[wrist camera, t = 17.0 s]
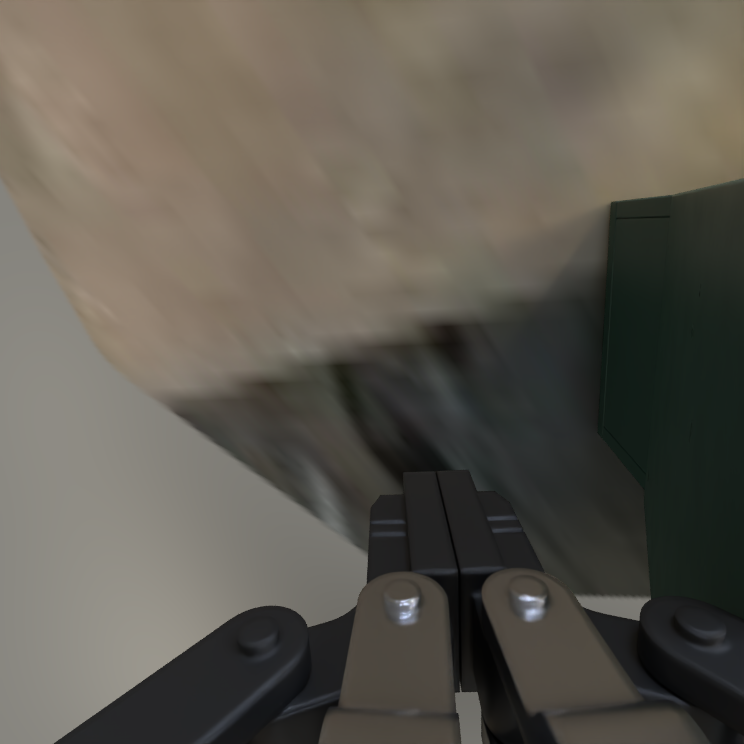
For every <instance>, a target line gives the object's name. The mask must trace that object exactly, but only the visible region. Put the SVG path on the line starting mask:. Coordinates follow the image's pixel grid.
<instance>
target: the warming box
mask: <svg viewBox="0 0 744 744" xmlns="http://www.w3.org/2000/svg"><path fill="white" fill-rule="evenodd" d="M672 196H673V195H667V196H658V197H650V198H641V199H632V200H623V201H615V202H611V212H610V229H609V246H608V263H607V280H606V298H605V315H604V332H603V349H602V366H601V383H600V400H599V417H598V434H599V435H600V436H601V438H603V440H604V441H605V442H606V444H607V445H608V446H609V447H610V448H611V450H612V451H613V452H614V453H615V454H616V456H617V457H618V458H619V459H620V461H621V462H622V463H623V464H624V465H625V467H626V468H627V469H628V470H629V471H630V473H631V474H632V475H633V476H634V478H635V479H636V480H637V481H638V482H639V484H640V485H641V486H642V487H643V488H644V490H645V482H646V471H647V460H648V449H649V438H650V427H651V417H652V406H653V395H654V384H655V373H656V362H657V352H658V341H659V330H660V319H661V308H662V297H663V287H664V276H665V265H666V254H667V243H668V232H669V222H670V211H671V200H672Z"/></svg>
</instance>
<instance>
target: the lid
mask: <svg viewBox="0 0 744 744" xmlns="http://www.w3.org/2000/svg"><path fill="white" fill-rule="evenodd" d="M644 509H645V523H646V536H647V550H648V564H649V577H650V591H651V600H652V599H654V598H657V597H662V596H682V597H688V598H693V599H697V600H700V601H703V602H706V603H709V604H712V605H714V606H716V607H719V608H721V609H723V610H725V611H727V612H729V613H731V614H733V615H736V616H738V617H740V618H742V619H743V620H744V178H743V179H739V180H734V181H730V182H726V183H721V184H717V185H713V186H709V187H704V188H700V189H696V190H691V191H687V192H683V193H678V194H675V195H673V196H672V200H671V211H670V222H669V232H668V243H667V254H666V265H665V276H664V287H663V297H662V308H661V319H660V330H659V341H658V352H657V362H656V373H655V384H654V395H653V406H652V417H651V427H650V438H649V449H648V460H647V471H646V482H645V492H644Z"/></svg>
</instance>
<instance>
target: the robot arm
mask: <svg viewBox="0 0 744 744" xmlns="http://www.w3.org/2000/svg"><path fill="white" fill-rule="evenodd" d="M403 489H404V494H401V495H380V497H379V498H378V499H377V500H376V502H375V503H374V504H373V505H372V507H371V510H370V530H369V549H368V570H367V584H366V586H365V587H364V588H363V589H362V591H361V592H360V594H359V597H358V602H357V605H356V607H354V608H353V609H352V610H351V611H349V612H348V613H346V614H345V615H343V616H341V617H339V618H337V619H335V620H332V621H329V622H326V623H323V624H319V625H316V626H312V627H307V624H306V622H305V620H304V619H303V618H302V617H301V615H299V614H298V613H297V612H295V611H293V610H291V609H289V608H285V607H281V606H263V607H258V608H253V609H250V610H248V611H245V612H243V613H241V614H238V615H237V616H235V617H233V618H232V619H230V620H229V621H227V622H226V623H224V624H223V625H222V626H220V627H219V628H217V629H216V630H214V631H213V632H212V633H210V634H209V635H207V636H206V637H205V638H203V639H202V640H200V641H199V642H198V643H196V644H195V645H193V646H192V647H190V648H189V649H187V650H186V651H185V652H183V653H182V654H180V655H179V656H178V657H176V658H175V659H173V660H172V661H170V662H169V663H168V664H166V665H165V666H163V667H162V668H160V669H159V670H158V671H156V672H155V673H153V674H152V675H150V676H149V677H148V678H146V679H145V680H143V681H142V682H141V683H139V684H138V685H136V686H135V687H133V688H132V689H131V690H129V691H128V692H126V693H125V694H124V695H122V696H121V697H119V698H118V699H116V700H115V701H114V702H112V703H111V704H109V705H108V706H107V707H105V708H104V709H102V710H101V711H99V712H98V713H96V714H95V715H94V716H92V717H91V718H89V719H88V720H86V721H85V722H84V723H82V724H81V725H79V726H78V727H77V728H75V729H74V730H72V731H71V732H69V733H68V734H67V735H65V736H64V737H62V738H61V739H59V740H58V741H57V742H55V743H54V744H461V735H460V723H459V715H458V713H456V703H455V693H456V692H460V684H461V690H462V692H478V695H479V700H480V705H481V716H482V717H481V723H482V724H481V729H482V730H481V731H482V732H481V736H482V742H483V744H744V620H743V619H742V618H740V617H738V616H736V615H733V614H731V613H729V612H727V611H725V610H723V609H721V608H719V607H716V606H714V605H712V604H709V603H706V602H703V601H700V600H697V599H693V598H688V597H682V596H662V597H657V598H654V599H652V600H649V601H648V602H647V603H645V604H644V606H643V607H642V609H641V612H640V621H636V620H632V619H627V618H622V617H617V616H612V615H607V614H603V613H599V612H595V611H592V610H589V609H586V608H584V607H582V606H581V605H580V603H579V602H578V600H577V599H576V597H575V596H574V594H573V593H572V591H571V590H570V589H569V588H568V587H567V586H566V585H565V584H564V583H563V582H561V581H560V580H558V579H557V578H555V577H553V576H551V575H549V574H546V573H545V572H544V570H543V568H542V566H541V564H540V562H539V560H538V558H537V556H536V554H535V552H534V550H533V548H532V546H531V544H530V542H529V540H528V538H527V536H526V534H525V532H523V528H522V526H521V524H520V522H519V520H517V516H516V514H515V512H514V510H513V508H512V506H511V504H510V502H508V501H507V500H506V499H504V498H503V497H502V496H500V495H499V494H498V493H496V492H495V491H479V492H477V490H476V488H475V485H474V482H473V480H472V477H471V475H470V472H469V470H454V471H436V473H435V471H430V472H404V473H403Z"/></svg>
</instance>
